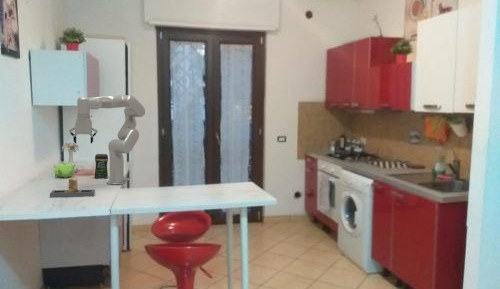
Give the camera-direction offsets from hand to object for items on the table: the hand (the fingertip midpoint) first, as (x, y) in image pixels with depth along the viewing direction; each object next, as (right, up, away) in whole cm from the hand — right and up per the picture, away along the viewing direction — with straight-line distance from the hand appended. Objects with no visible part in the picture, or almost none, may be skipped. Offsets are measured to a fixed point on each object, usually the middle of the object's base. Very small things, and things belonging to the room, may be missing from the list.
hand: (83, 143), depth 261 cm
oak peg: (+1, -32, -18) cm, 36 cm away
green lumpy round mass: (-32, -26, +45) cm, 61 cm away
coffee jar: (-6, -27, +48) cm, 55 cm away
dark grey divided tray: (+1, -32, -18) cm, 36 cm away
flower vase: (-39, -24, +69) cm, 83 cm away
